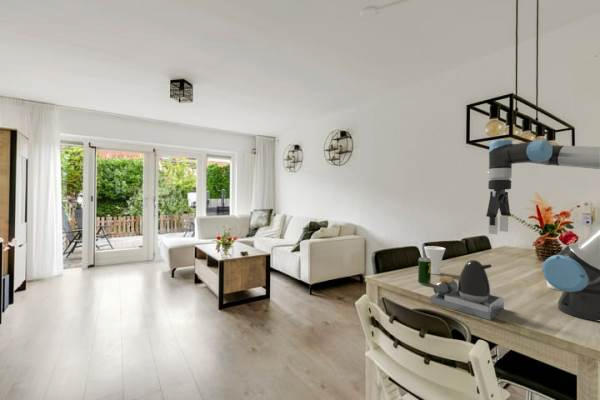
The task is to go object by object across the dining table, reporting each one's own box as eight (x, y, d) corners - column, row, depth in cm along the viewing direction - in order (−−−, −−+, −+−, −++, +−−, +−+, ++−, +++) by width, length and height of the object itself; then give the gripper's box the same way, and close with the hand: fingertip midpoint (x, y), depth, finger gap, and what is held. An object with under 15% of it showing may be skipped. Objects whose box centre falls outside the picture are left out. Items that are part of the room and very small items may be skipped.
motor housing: (503, 309, 105) (504, 284, 105) (490, 320, 96) (490, 293, 96) (447, 294, 121) (447, 272, 121) (430, 302, 111) (430, 279, 111)
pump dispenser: (489, 309, 99) (490, 265, 99) (455, 301, 105) (456, 260, 105) (491, 300, 107) (492, 259, 107) (460, 294, 113) (460, 256, 113)
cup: (449, 275, 150) (450, 249, 150) (430, 276, 148) (431, 249, 148) (437, 270, 160) (437, 245, 160) (419, 270, 159) (420, 246, 159)
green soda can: (417, 284, 134) (417, 258, 134) (418, 281, 138) (419, 256, 138) (430, 286, 131) (430, 260, 131) (431, 283, 136) (431, 257, 136)
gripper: (498, 181, 126) (497, 229, 127) (478, 178, 110) (476, 233, 110) (519, 180, 121) (518, 231, 121) (501, 177, 104) (499, 236, 105)
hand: (498, 232), depth 116 cm, fingers open, 13 cm apart
